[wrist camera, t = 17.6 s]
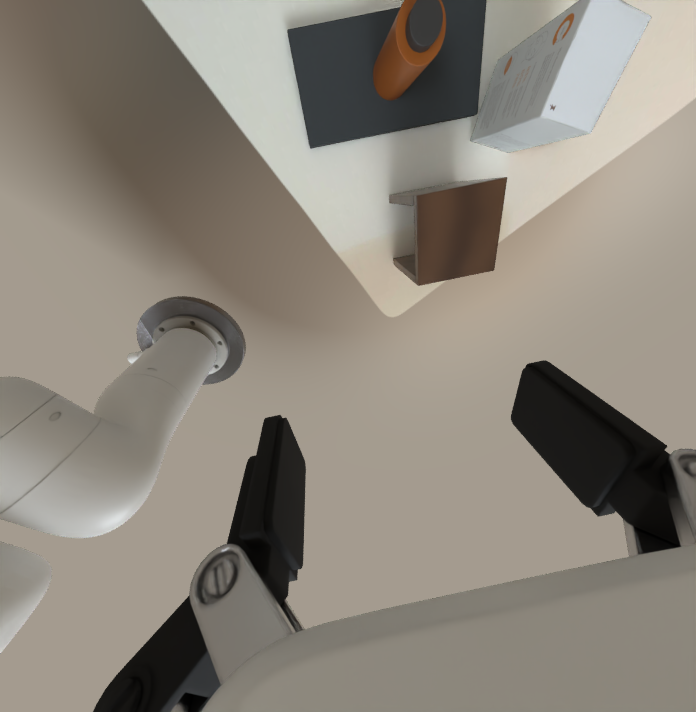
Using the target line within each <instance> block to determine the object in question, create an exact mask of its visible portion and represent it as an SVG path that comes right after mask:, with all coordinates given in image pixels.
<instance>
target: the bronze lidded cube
mask: <svg viewBox="0 0 696 712" xmlns="http://www.w3.org/2000/svg"><path fill="white" fill-rule="evenodd" d="M506 182H507V177H504V178H493V179H482V180H471V181H460V182H453V183H448V184H443V185H438V186H433V187H428V188H423V189H418V190H413V191H408V192H403V193H398V194H393V195H389V203H394V204H403V205H413V206H414V225H415V254H414V255H409V256H404V257H399V258H394V259H393V261H394V265H395V266H396V267H397V268H398V269H399V270H401V271H402V272H403V273H404V274H405V275H406V276H408V277H409V278H410V279H411V280H412V281H413V282H414V283H416V284H417V285H418V286H420V285H425V284H430V283H435V282H440V281H445V280H450V279H454V278H459V277H464V276H469V275H474V274H479V273H484V272H489V271H493V270H494V268H495V260H496V253H497V246H498V239H499V232H500V225H501V218H502V211H503V203H504V196H505V189H506Z"/></svg>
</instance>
